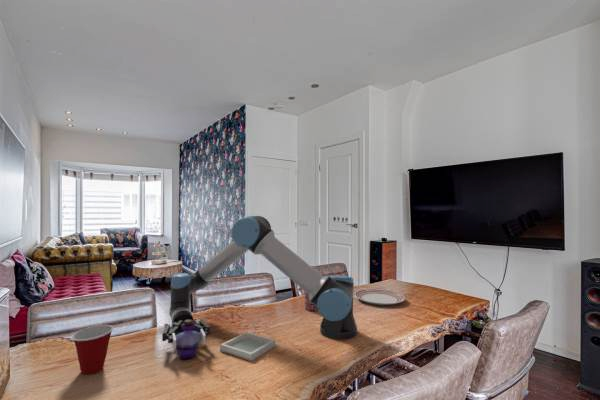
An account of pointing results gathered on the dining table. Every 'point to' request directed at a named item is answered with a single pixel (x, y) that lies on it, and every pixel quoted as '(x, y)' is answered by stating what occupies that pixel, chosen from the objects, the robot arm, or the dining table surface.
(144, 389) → the dining table surface
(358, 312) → the dining table surface
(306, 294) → the mug
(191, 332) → the potion bottle
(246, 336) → the dish
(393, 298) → the dinner plate
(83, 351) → the plastic cup
